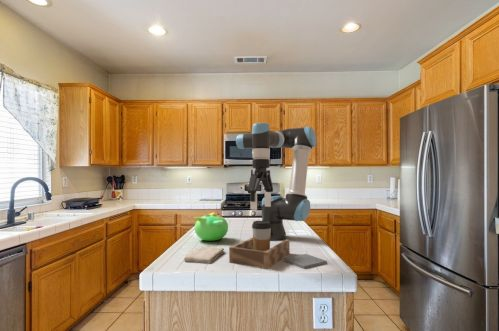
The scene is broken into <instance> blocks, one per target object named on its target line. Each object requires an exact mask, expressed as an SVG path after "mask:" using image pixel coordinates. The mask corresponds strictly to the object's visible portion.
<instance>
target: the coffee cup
mask: <svg viewBox="0 0 499 331" xmlns="http://www.w3.org/2000/svg"><path fill="white" fill-rule="evenodd" d="M251 228H252V238H253V246H254V250H260V251H267V250H269V249H270V248H271V240H270V233H271V224H270V222H269V221H262V220H254V221H253V222H252V225H251Z"/></svg>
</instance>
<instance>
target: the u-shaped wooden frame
mask: <svg viewBox="0 0 499 331" xmlns="http://www.w3.org/2000/svg"><path fill="white" fill-rule="evenodd" d="M228 250H229V251H228V254H229V258H228V260H229V261H228V262H229V263H231V264H238V265H243V266H247V267H248V266H249V267H256V268H260V269H266V270H267V269H269V268H271V267H272V266H273V265H275V264H276V263H278V262H279V261H281V260H282V259H284V258H286V256H288V255H289V254H290V250H291V248H290V239H284V240H283V241H282V242H280V243H278V244H276V245H273V246H272V247H270V249H269V250H267V251H260V250H254V246H253V237H250V238H248V239H246V240H243V241H241V242H238V243H236V244H234V245H231V246H230V247H229V249H228Z"/></svg>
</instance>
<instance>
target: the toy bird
mask: <svg viewBox="0 0 499 331" xmlns="http://www.w3.org/2000/svg"><path fill="white" fill-rule="evenodd" d="M193 219H194V220H195V221H196V222H195V224H194V232H195V234H196V236H197V237H198V238H199V239H201V240H202V241H203V240H204V241H207V242H214V241H215V242H216V241H219V240H220V239H223V238H224V237H225V236H226V235H227V233H228V231H229V224H228V222H227V220H226V219H225V218H224V217H223V216H221V215H219V214H216V212H211V213H209V214H205V215H202V216H201V217H200V216H194V217H193Z"/></svg>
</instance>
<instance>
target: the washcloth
mask: <svg viewBox="0 0 499 331" xmlns="http://www.w3.org/2000/svg"><path fill="white" fill-rule="evenodd" d="M224 253H225V248H224V247H211V246H201V247H196V248H195V249H193V250H192V251H189V253H187V254H186V255H185V256H184V258H183V259H184V262H186V263H187V262H188V263H200V264H211V263H213V262H214V261H215V260H216V259H217V258H219V257H220V256H221V255H222V254H224Z"/></svg>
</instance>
